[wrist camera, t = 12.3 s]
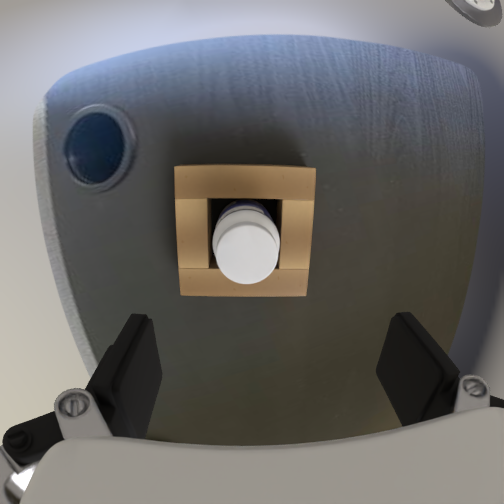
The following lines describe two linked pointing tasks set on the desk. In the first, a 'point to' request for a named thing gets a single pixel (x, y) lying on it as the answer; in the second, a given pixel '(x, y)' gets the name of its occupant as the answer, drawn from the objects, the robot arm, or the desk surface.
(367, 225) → the desk surface
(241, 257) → the pill bottle
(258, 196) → the holder
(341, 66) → the desk surface
